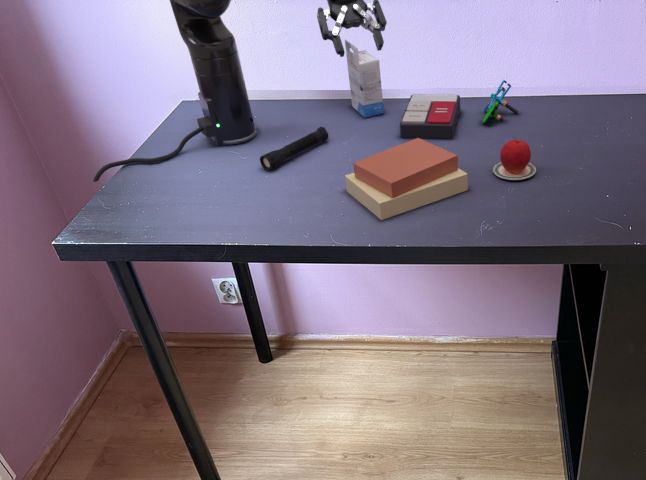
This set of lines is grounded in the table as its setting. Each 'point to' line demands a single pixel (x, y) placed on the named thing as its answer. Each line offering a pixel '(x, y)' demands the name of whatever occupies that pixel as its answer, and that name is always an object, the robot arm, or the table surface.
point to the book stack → (405, 178)
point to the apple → (515, 161)
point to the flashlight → (293, 149)
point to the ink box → (364, 81)
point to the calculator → (430, 116)
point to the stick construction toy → (500, 102)
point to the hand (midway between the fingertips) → (361, 51)
